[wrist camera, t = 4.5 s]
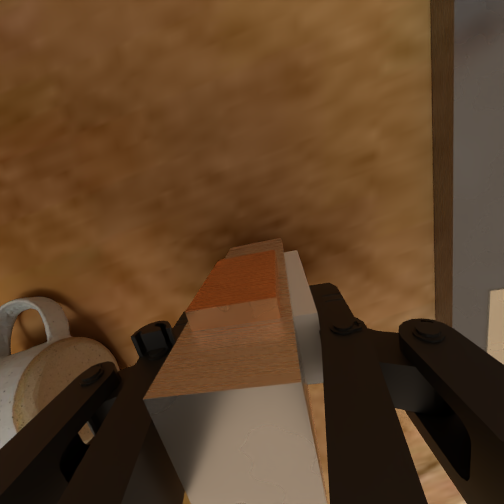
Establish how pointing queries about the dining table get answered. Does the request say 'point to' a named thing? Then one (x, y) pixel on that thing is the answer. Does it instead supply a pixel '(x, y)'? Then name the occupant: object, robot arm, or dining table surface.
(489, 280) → the rail
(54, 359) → the ceramic mug
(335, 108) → the dining table surface
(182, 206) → the dining table surface
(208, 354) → the loose carton
